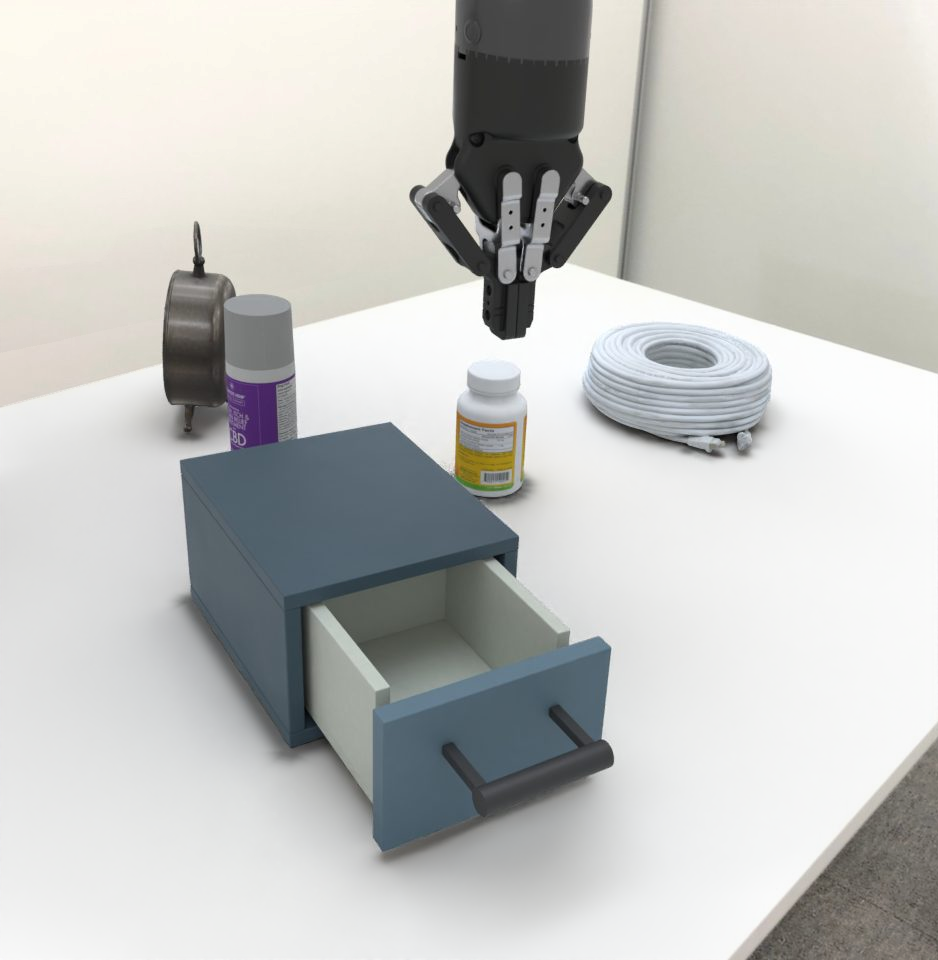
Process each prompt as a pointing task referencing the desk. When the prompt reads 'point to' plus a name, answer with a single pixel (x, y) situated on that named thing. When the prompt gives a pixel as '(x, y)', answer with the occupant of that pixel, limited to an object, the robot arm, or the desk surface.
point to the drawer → (453, 696)
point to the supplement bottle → (491, 430)
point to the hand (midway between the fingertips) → (506, 334)
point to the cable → (679, 382)
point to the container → (260, 370)
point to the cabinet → (318, 542)
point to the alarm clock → (195, 336)
